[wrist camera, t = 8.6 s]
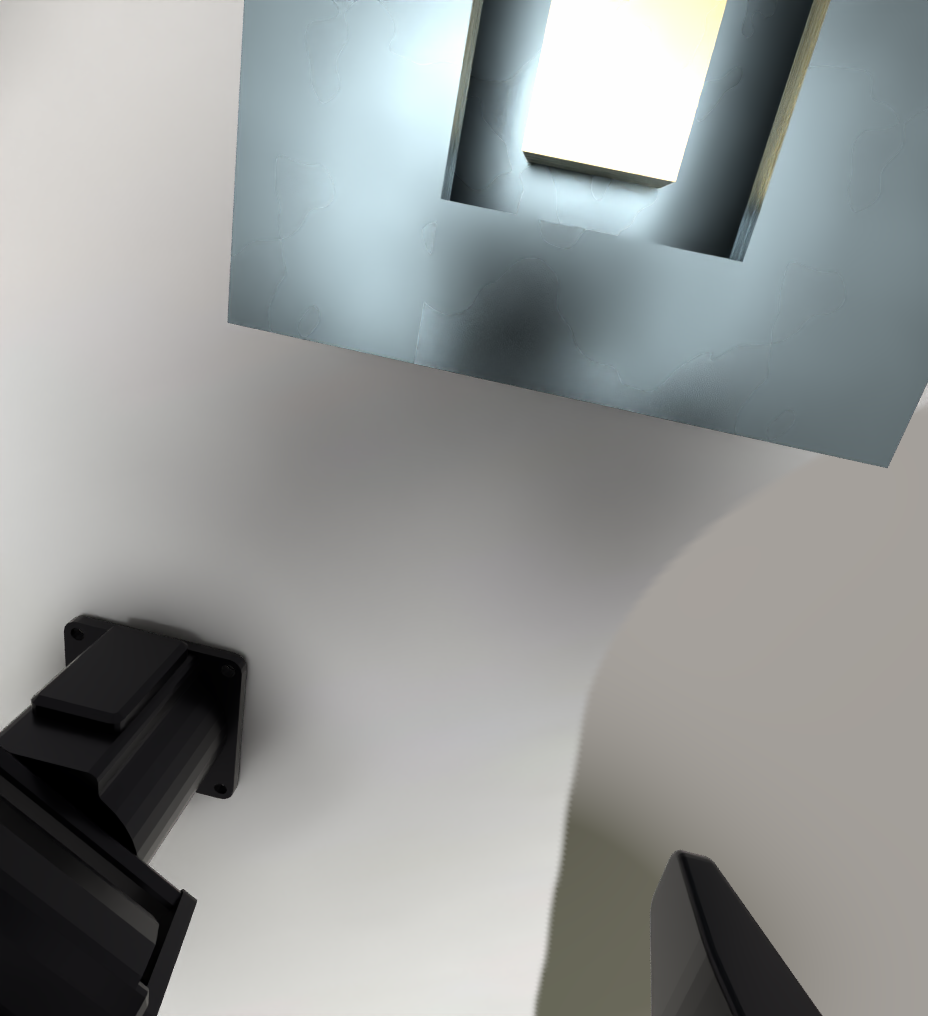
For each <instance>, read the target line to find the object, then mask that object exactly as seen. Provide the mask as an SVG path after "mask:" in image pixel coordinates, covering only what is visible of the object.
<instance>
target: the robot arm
mask: <svg viewBox="0 0 928 1016" xmlns="http://www.w3.org/2000/svg"><path fill="white" fill-rule="evenodd" d="M79 629H80V630H81V631H82V632H83V633H81V631H80V630H79ZM64 641H65V661H66V668H65V669H63V670H62V671H61V672H60V673H59V674H58V675H57V676H56V677H54V678H53V679H52V680H51V681H50V682H49V683H48V684H46V685H45V686H44V687H43V688H42V689H41V690H40V691H39V692H37V693H36V694H35V695H34V696H33V697H32V699H31V705H30V706H29V707H28V708H26V709H25V710H24V711H23V712H22V713H21V714H20V715H19V716H18V717H16V718H15V719H14V720H13V721H12V722H11V723H10V724H9V725H8V726H6V727H5V728H4V729H3V730H2V731H1V732H0V1016H157V1014H158V1011H159V1008H160V1006H161V1003H162V1000H163V997H164V994H165V991H166V989H167V986H168V983H169V980H170V977H171V974H172V971H173V969H174V966H175V963H176V960H177V957H178V954H179V952H180V949H181V946H182V943H183V940H184V937H185V934H186V932H187V929H188V926H189V923H190V920H191V917H192V915H193V912H194V909H195V906H196V903H197V900H196V899H195V898H194V897H192V896H191V895H190V894H189V893H188V892H186V891H185V890H184V889H182V890H181V891H180V890H178V889H177V888H176V887H175V886H173V885H172V884H171V883H170V882H168V881H167V880H166V879H165V878H164V877H162V876H161V875H160V874H159V873H157V872H156V871H155V870H154V869H152V868H151V867H150V866H149V865H148V864H149V862H150V861H151V859H152V858H153V856H154V855H155V853H156V852H157V850H158V849H159V847H160V846H161V844H162V842H163V841H164V839H165V838H166V836H167V835H168V833H169V832H170V830H171V829H172V827H173V826H174V824H175V822H176V821H177V819H178V818H179V816H180V815H181V813H182V812H183V810H184V809H185V807H186V806H187V804H188V802H189V801H190V799H191V798H192V796H193V795H194V793H195V792H196V793H200V794H204V795H208V796H212V797H216V798H220V799H226V798H229V797H231V796H232V794H233V793H234V791H235V789H236V788H237V785H238V775H239V762H240V749H241V736H242V723H243V711H244V698H245V685H246V672H247V666H246V662H245V660H244V659H243V658H242V657H241V656H240V655H238V654H235V653H232V652H228V651H224V650H220V649H216V648H212V647H208V646H204V645H200V644H196V643H191V642H187V641H183V640H179V639H175V638H171V637H167V636H163V635H159V634H155V633H150V632H146V631H142V630H138V629H134V628H130V627H126V626H122V625H118V624H114V623H110V622H105V621H101V620H97V619H93V618H89V617H85V616H78V617H75V618H74V619H73V620H71V621H70V622H69V623H68V624H67V625H66V626H65V628H64ZM227 665H229V666H231V667H233V669H234V670H235V671H233V670H231V669H229V668H228V667H227ZM222 784H223V785H222ZM650 942H651V1016H822V1015H821V1013H820V1012H819V1010H818V1009H817V1008H816V1006H815V1005H814V1003H813V1002H812V1000H811V999H810V998H809V996H808V995H807V993H806V992H805V991H804V989H803V988H802V986H801V985H800V983H799V982H798V981H797V979H796V978H795V976H794V975H793V974H792V972H791V971H790V969H789V968H788V966H787V965H786V964H785V962H784V961H783V959H782V958H781V956H780V955H779V954H778V952H777V951H776V949H775V948H774V947H773V945H772V944H771V942H770V941H769V939H768V938H767V937H766V935H765V934H764V932H763V931H762V929H761V928H760V927H759V925H758V924H757V922H756V921H755V920H754V918H753V917H752V916H751V914H750V912H749V911H748V910H747V908H746V907H745V905H744V904H743V903H742V901H741V900H740V898H739V897H738V895H737V894H736V893H735V892H734V890H733V888H732V887H731V886H730V884H729V883H728V881H727V880H726V878H725V877H724V876H723V874H722V873H721V872H720V870H719V868H718V867H717V866H716V864H715V863H714V862H713V861H712V860H711V859H710V858H708V857H706V856H702V855H698V854H694V853H690V852H687V851H682V850H677V851H675V852H674V853H673V854H672V855H671V857H670V859H669V861H668V863H667V865H666V868H665V870H664V872H663V875H662V877H661V879H660V881H659V884H658V886H657V888H656V891H655V893H654V895H653V899H652V903H651V911H650Z"/></svg>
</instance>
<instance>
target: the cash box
mask: <svg viewBox="0 0 928 1016" xmlns="http://www.w3.org/2000/svg"><path fill="white" fill-rule="evenodd" d="M551 3H552V0H244V14H243V34H242V53H241V72H240V92H239V111H238V130H237V150H236V169H235V188H234V208H233V227H232V246H231V265H230V285H229V304H228V323H232V324H236V325H241V326H245V327H250V328H254V329H259V330H264V331H268V332H273V333H277V334H282V335H286V336H291V337H295V338H300V339H304V340H309V341H313V342H318V343H322V344H327V345H332V346H336V347H341V348H345V349H350V350H354V351H359V352H363V353H368V354H372V355H377V356H381V357H386V358H390V359H395V360H400V361H404V362H409V363H413V364H418V365H422V366H427V367H431V368H436V369H440V370H445V371H449V372H454V373H458V374H463V375H468V376H472V377H477V378H481V379H486V380H490V381H495V382H499V383H504V384H508V385H513V386H517V387H522V388H526V389H531V390H536V391H540V392H545V393H549V394H554V395H558V396H563V397H567V398H572V399H576V400H581V401H585V402H590V403H594V404H599V405H604V406H608V407H613V408H617V409H622V410H626V411H631V412H635V413H640V414H644V415H649V416H653V417H658V418H662V419H667V420H672V421H676V422H681V423H685V424H690V425H694V426H699V427H703V428H708V429H712V430H717V431H721V432H726V433H730V434H735V435H740V436H744V437H749V438H753V439H758V440H762V441H767V442H771V443H776V444H780V445H785V446H789V447H794V448H798V449H803V450H808V451H812V452H817V453H821V454H826V455H830V456H835V457H839V458H844V459H848V460H853V461H857V462H862V463H867V464H871V465H876V466H880V467H885V468H888V466H889V464H890V462H891V460H892V457H893V455H894V453H895V451H896V449H897V446H898V445H899V443H900V440H901V438H902V436H903V434H904V432H905V430H906V428H907V425H908V423H909V421H910V419H911V417H912V415H913V413H914V410H915V408H916V406H917V404H918V402H919V400H920V398H921V395H922V393H923V391H924V389H925V387H926V385H927V383H928V0H727V2H726V6H725V9H724V13H723V16H722V20H721V23H720V27H719V30H718V34H717V37H716V41H715V44H714V48H713V51H712V55H711V58H710V62H709V65H708V69H707V72H706V76H705V79H704V83H703V86H702V90H701V93H700V97H699V101H698V104H697V108H696V111H695V115H694V118H693V122H692V125H691V129H690V132H689V136H688V139H687V143H686V146H685V150H684V153H683V157H682V160H681V164H680V167H679V171H678V174H677V178H676V181H675V182H674V183H671V184H669V185H667V186H664V187H662V188H654V187H649V186H644V185H639V184H634V183H630V182H625V181H620V180H615V179H610V178H605V177H600V176H595V175H591V174H586V173H581V172H576V171H571V170H566V169H561V168H556V167H552V166H547V165H542V164H537V163H532V162H527V160H526V158H525V156H524V154H523V152H522V148H523V143H524V138H525V133H526V128H527V123H528V118H529V113H530V108H531V103H532V98H533V93H534V88H535V83H536V78H537V73H538V68H539V63H540V58H541V53H542V48H543V43H544V38H545V33H546V28H547V23H548V18H549V13H550V8H551Z"/></svg>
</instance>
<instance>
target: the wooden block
mask: <svg viewBox="0 0 928 1016" xmlns="http://www.w3.org/2000/svg"><path fill="white" fill-rule="evenodd" d="M726 2H727V0H552V3H551V8H550V13H549V18H548V23H547V28H546V33H545V38H544V43H543V48H542V53H541V58H540V63H539V68H538V73H537V78H536V83H535V88H534V93H533V98H532V103H531V108H530V113H529V118H528V123H527V128H526V133H525V138H524V143H523V148H522V152H523V154H524V156H525V158H526V160H527V162H532V163H537V164H542V165H547V166H552V167H556V168H561V169H566V170H571V171H576V172H581V173H586V174H591V175H595V176H600V177H605V178H610V179H615V180H620V181H625V182H630V183H634V184H639V185H644V186H649V187H654V188H662V187H664V186H667V185H669V184H671V183H674V182H675V181H676V178H677V174H678V171H679V167H680V164H681V160H682V157H683V153H684V150H685V146H686V143H687V139H688V136H689V132H690V129H691V125H692V122H693V118H694V115H695V111H696V108H697V104H698V101H699V97H700V93H701V90H702V86H703V83H704V79H705V76H706V72H707V69H708V65H709V62H710V58H711V55H712V51H713V48H714V44H715V41H716V37H717V34H718V30H719V27H720V23H721V20H722V16H723V13H724V9H725V6H726Z"/></svg>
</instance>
